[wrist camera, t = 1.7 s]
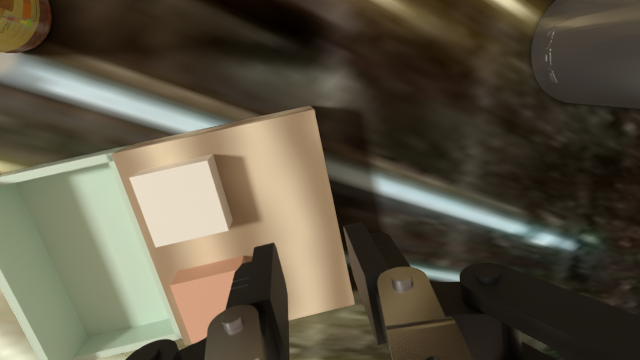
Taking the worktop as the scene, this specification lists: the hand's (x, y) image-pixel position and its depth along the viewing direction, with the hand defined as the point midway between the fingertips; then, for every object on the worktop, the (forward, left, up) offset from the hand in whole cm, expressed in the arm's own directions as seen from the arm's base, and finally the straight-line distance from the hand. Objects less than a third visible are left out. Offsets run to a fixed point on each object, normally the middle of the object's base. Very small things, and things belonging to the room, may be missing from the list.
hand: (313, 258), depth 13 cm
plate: (+5, +4, -17) cm, 18 cm away
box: (+17, +4, -17) cm, 25 cm away
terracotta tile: (+8, +8, -13) cm, 17 cm away
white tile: (+8, 0, -13) cm, 15 cm away
